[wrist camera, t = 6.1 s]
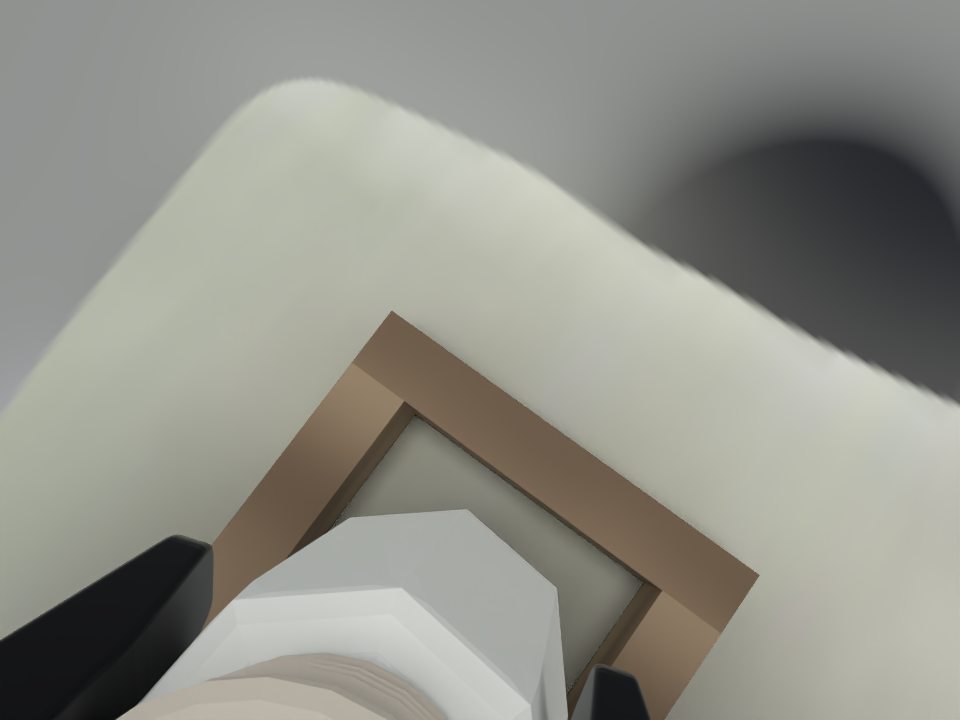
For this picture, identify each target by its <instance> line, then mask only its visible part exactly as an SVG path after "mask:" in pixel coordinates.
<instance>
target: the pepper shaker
mask: <svg viewBox="0 0 960 720" xmlns="http://www.w3.org/2000/svg"><path fill="white" fill-rule="evenodd" d="M567 719H568V711H567V699H566V687H565V675H564V664H563V652H562V640H561V629H560V617H559V605H558V593H557V588H556V587H555V586H554V585H553V584H551V583H550V582H549V581H548V580H547V579H546V578H545V577H544V576H542V575H541V574H540V573H539V572H538V571H537V570H536V569H534V568H533V567H532V566H531V565H530V564H529V563H528V562H526V561H525V560H524V559H523V558H522V557H521V556H520V555H519V554H517V553H516V552H515V551H514V550H513V549H512V548H511V547H509V546H508V545H507V544H506V543H505V542H504V541H503V540H502V539H500V538H499V537H498V536H497V535H496V534H495V533H494V532H492V531H491V530H490V529H489V528H488V527H487V526H486V525H484V524H483V523H482V522H481V521H480V520H479V519H478V518H477V517H475V516H474V515H473V514H472V513H471V512H470V511H469V510H467V509H461V510H447V511H433V512H419V513H406V514H392V515H378V516H364V517H351V518H348V519H347V520H345V521H344V522H342V523H341V524H339V525H338V526H336V527H335V528H333V529H332V530H330V531H329V532H327V533H326V534H324V535H323V536H321V537H319V538H318V539H316V540H315V541H313V542H312V543H310V544H309V545H307V546H306V547H304V548H303V549H301V550H300V551H298V552H297V553H295V554H294V555H292V556H291V557H289V558H287V559H286V560H284V561H283V562H281V563H280V564H278V565H277V566H275V567H274V568H272V569H271V570H269V571H268V572H266V573H265V574H263V575H262V576H260V577H259V578H257V579H255V580H254V581H252V582H251V583H250V584H249V585H248V586H247V587H246V588H245V589H244V590H243V591H242V592H241V593H240V594H239V595H238V596H237V597H235V598H234V599H233V600H232V601H231V602H230V603H229V604H228V605H227V606H226V607H225V608H224V609H223V610H222V611H221V612H220V613H219V614H218V615H217V616H216V617H215V618H214V619H213V620H212V621H211V622H210V623H209V625H208V626H207V627H206V628H205V629H204V630H203V631H202V632H201V634H200V635H199V636H198V637H197V638H196V639H195V640H194V642H193V643H192V644H191V645H190V646H189V647H188V648H187V649H186V651H185V652H184V653H183V654H182V655H181V656H180V657H179V658H178V660H177V661H176V662H175V663H174V664H173V665H172V666H171V667H170V669H169V670H168V671H167V672H166V673H165V674H164V675H163V676H162V678H161V679H160V680H159V681H158V682H157V683H156V684H155V685H154V687H153V688H152V689H151V690H150V691H149V692H148V693H147V694H146V696H145V697H144V698H143V699H142V700H141V701H140V702H139V703H138V705H137V706H135V707H134V708H132V709H131V710H129V711H128V712H126V713H125V714H123V715H122V716H120V717H119V718H118V719H116V720H567Z"/></svg>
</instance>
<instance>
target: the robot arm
mask: <svg viewBox="0 0 960 720" xmlns="http://www.w3.org/2000/svg"><path fill="white" fill-rule="evenodd" d="M213 578H214V553H213V549H212V547H211V546H210V545H209V544H207V543H205V542H202V541H198V540H195V539H192V538H189V537H185V536H182V535H173V536H170V537H167V538H166V539H164V540H162V541H161V542H159V543H157V544H156V545H154V546H152V547H151V548H149V549H148V550H146V551H144V552H143V553H141V554H139V555H138V556H136V557H135V558H133V559H131V560H130V561H128V562H126V563H125V564H123V565H122V566H120V567H118V568H117V569H115V570H114V571H112V572H110V573H109V574H107V575H105V576H104V577H102V578H101V579H99V580H97V581H96V582H94V583H92V584H91V585H89V586H88V587H86V588H84V589H83V590H81V591H79V592H78V593H76V594H75V595H73V596H71V597H70V598H68V599H66V600H65V601H63V602H62V603H60V604H58V605H57V606H55V607H53V608H52V609H50V610H49V611H47V612H45V613H44V614H42V615H40V616H39V617H37V618H36V619H34V620H32V621H31V622H29V623H27V624H26V625H24V626H23V627H21V628H19V629H18V630H16V631H14V632H13V633H11V634H10V635H8V636H6V637H5V638H3V639H1V640H0V720H116V719H118V718H119V717H120V716H122V715H123V714H125V713H126V712H128V711H129V710H131V709H132V708H134V707H135V706H137V705H138V703H139V702H140V701H141V700H142V699H143V698H144V697H145V696H146V694H147V693H148V692H149V691H150V690H151V689H152V688H153V687H154V685H155V684H156V683H157V682H158V681H159V680H160V679H161V678H162V676H163V675H164V674H165V673H166V672H167V671H168V670H169V669H170V667H171V666H172V665H173V664H174V663H175V662H176V661H177V660H178V658H179V657H180V656H181V655H182V654H183V653H184V652H185V651H186V649H187V648H188V647H189V646H190V645H191V644H192V643H193V642H194V640H195V639H196V638H197V637H198V636H199V635H200V633H201V631H202V629H203V626H204V624H205V622H206V620H207V618H208V615H209V612H210V609H211V606H212V601H213ZM571 720H652V719H651V716H650V713H649V711H648V708H647V705H646V702H645V699H644V696H643V693H642V690H641V687H640V685H639V682H638V680H637V678H636V677H635V676H634V675H633V674H632V673H630V672H627V671H624V670H621V669H617V668H614V667H611V666H607V665H604V664H596V665H595V666H594V667H593V668H592V670H591V672H590V674H589V676H588V679H587V681H586V683H585V686H584V688H583V691H582V693H581V695H580V698H579V700H578V702H577V705H576V707H575V710H574V712H573V715H572V719H571Z"/></svg>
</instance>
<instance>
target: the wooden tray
mask: <svg viewBox="0 0 960 720" xmlns="http://www.w3.org/2000/svg"><path fill="white" fill-rule="evenodd" d="M414 415H417V416H418V417H419V418H421V419H422V420H423V421H425V422H426V423H428V424H429V425H430V426H432V427H433V428H434V429H436V430H437V431H438V432H440V433H441V434H442V435H444V436H445V437H447V438H448V439H449V440H451V441H452V442H453V443H455V444H456V445H457V446H459V447H460V448H462V449H463V450H464V451H466V452H467V453H468V454H470V455H471V456H472V457H474V458H475V459H477V460H478V461H479V462H481V463H482V464H483V465H485V466H486V467H487V468H489V469H490V470H491V471H493V472H494V473H496V474H497V475H498V476H500V477H501V478H502V479H504V480H505V481H506V482H508V483H509V484H511V485H512V486H513V487H515V488H516V489H517V490H519V491H520V492H521V493H523V494H524V495H525V496H527V497H528V498H530V499H531V500H532V501H534V502H535V503H536V504H538V505H539V506H540V507H542V508H543V509H545V510H546V511H547V512H549V513H550V514H551V515H553V516H554V517H555V518H557V519H558V520H560V521H561V522H562V523H564V524H565V525H566V526H568V527H569V528H570V529H572V530H573V531H574V532H576V533H577V534H579V535H580V536H581V537H583V538H584V539H585V540H587V541H588V542H589V543H591V544H592V545H594V546H595V547H596V548H598V549H599V550H600V551H602V552H603V553H604V554H606V555H607V556H608V557H610V558H611V559H613V560H614V561H615V562H617V563H618V564H619V565H621V566H622V567H623V568H625V569H626V570H628V571H629V572H630V573H632V574H633V575H634V576H636V577H637V578H638V579H640V580H641V581H643V582H644V583H643V585H642V586H641V588H640V589H639V591H638V592H637V594H636V595H635V596H634V598H633V599H632V601H631V602H630V604H629V605H628V607H627V608H626V610H625V611H624V613H623V614H622V616H621V617H620V618H619V620H618V621H617V623H616V624H615V626H614V627H613V629H612V630H611V632H610V633H609V635H608V636H607V637H606V639H605V640H604V642H603V643H602V645H601V646H600V648H599V649H598V651H597V652H596V654H595V655H594V657H593V658H592V659H591V661H590V662H589V664H588V665H587V667H586V668H585V670H584V671H583V673H582V674H581V676H580V677H579V678H578V680H577V681H576V683H575V684H574V686H573V687H572V689H571V690H570V692H569V693H568V695H567V696H566V699H567V711H568V719H567V720H571V719H572V715H573V712H574V710H575V707H576V705H577V702H578V700H579V698H580V695H581V693H582V691H583V688H584V686H585V683H586V681H587V679H588V676H589V674H590V672H591V670H592V668H593V667H594V666H595V665H596V664H604V665H607V666H611V667H614V668H617V669H621V670H624V671H627V672H630V673H632V674H633V675H634V676H635V677H636V678H637V680H638V682H639V685H640V687H641V690H642V693H643V696H644V699H645V702H646V705H647V708H648V711H649V713H650V716H651V719H652V720H664V719H665V717H666V716H667V714H668V713H669V711H670V710H671V708H672V707H673V705H674V704H675V702H676V701H677V699H678V698H679V696H680V695H681V693H682V692H683V690H684V689H685V687H686V686H687V684H688V683H689V681H690V680H691V678H692V676H693V675H694V673H695V672H696V670H697V669H698V667H699V666H700V664H701V663H702V661H703V660H704V658H705V657H706V655H707V654H708V652H709V651H710V649H711V648H712V646H713V645H714V643H715V642H716V640H717V639H718V637H719V636H720V634H721V633H722V631H723V630H724V628H725V627H726V625H727V624H728V622H729V621H730V619H731V618H732V616H733V615H734V613H735V612H736V610H737V609H738V607H739V606H740V604H741V603H742V601H743V600H744V598H745V597H746V595H747V593H748V592H749V590H750V589H751V587H752V586H753V584H754V583H755V581H756V580H757V578H758V577H759V574H757V573H756V572H754V571H753V570H752V569H750V568H749V567H747V566H746V565H745V564H743V563H742V562H740V561H739V560H738V559H736V558H735V557H734V556H732V555H731V554H729V553H728V552H727V551H725V550H724V549H722V548H721V547H720V546H718V545H717V544H715V543H714V542H713V541H711V540H710V539H708V538H707V537H706V536H704V535H703V534H702V533H700V532H699V531H697V530H696V529H695V528H693V527H692V526H690V525H689V524H688V523H686V522H685V521H683V520H682V519H681V518H679V517H678V516H677V515H675V514H674V513H672V512H671V511H670V510H668V509H667V508H665V507H664V506H663V505H661V504H660V503H658V502H657V501H656V500H654V499H653V498H651V497H650V496H649V495H647V494H646V493H645V492H643V491H642V490H640V489H639V488H638V487H636V486H635V485H633V484H632V483H631V482H629V481H628V480H626V479H625V478H624V477H622V476H621V475H619V474H618V473H617V472H615V471H614V470H613V469H611V468H610V467H608V466H607V465H606V464H604V463H603V462H601V461H600V460H599V459H597V458H596V457H594V456H593V455H592V454H590V453H589V452H588V451H586V450H585V449H583V448H582V447H581V446H579V445H578V444H576V443H575V442H574V441H572V440H571V439H569V438H568V437H567V436H565V435H564V434H562V433H561V432H560V431H558V430H557V429H556V428H554V427H553V426H551V425H550V424H549V423H547V422H546V421H544V420H543V419H542V418H540V417H539V416H537V415H536V414H535V413H533V412H532V411H531V410H529V409H528V408H526V407H525V406H524V405H522V404H521V403H519V402H518V401H517V400H515V399H514V398H512V397H511V396H510V395H508V394H507V393H505V392H504V391H503V390H501V389H500V388H499V387H497V386H496V385H494V384H493V383H492V382H490V381H489V380H487V379H486V378H485V377H483V376H482V375H480V374H479V373H478V372H476V371H475V370H473V369H472V368H471V367H469V366H468V365H467V364H465V363H464V362H462V361H461V360H460V359H458V358H457V357H455V356H454V355H453V354H451V353H450V352H448V351H447V350H446V349H444V348H443V347H442V346H440V345H439V344H437V343H436V342H435V341H433V340H432V339H430V338H429V337H428V336H426V335H425V334H423V333H422V332H421V331H419V330H418V329H416V328H415V327H414V326H412V325H411V324H410V323H408V322H407V321H405V320H404V319H403V318H401V317H400V316H398V315H397V314H396V313H394V312H393V311H391V312H390V314H389V315H388V316H387V318H386V319H385V320H384V321H383V323H382V324H381V325H380V327H379V328H378V329H377V331H376V332H375V333H374V335H373V336H372V337H371V338H370V340H369V341H368V342H367V344H366V345H365V346H364V348H363V349H362V350H361V351H360V353H359V354H358V355H357V357H356V358H355V359H354V361H353V362H352V363H351V365H350V366H349V367H348V368H347V370H346V371H345V372H344V374H343V375H342V376H341V378H340V379H339V380H338V381H337V383H336V384H335V385H334V387H333V388H332V389H331V391H330V392H329V393H328V395H327V396H326V397H325V398H324V400H323V401H322V402H321V404H320V405H319V406H318V408H317V409H316V410H315V411H314V413H313V414H312V415H311V417H310V418H309V419H308V421H307V422H306V423H305V425H304V426H303V427H302V428H301V430H300V431H299V432H298V434H297V435H296V436H295V438H294V439H293V440H292V441H291V443H290V444H289V445H288V447H287V448H286V449H285V451H284V452H283V453H282V455H281V456H280V457H279V458H278V460H277V461H276V462H275V464H274V465H273V466H272V468H271V469H270V470H269V472H268V473H267V474H266V475H265V477H264V478H263V479H262V481H261V482H260V483H259V485H258V486H257V487H256V488H255V490H254V491H253V492H252V494H251V495H250V496H249V498H248V499H247V500H246V502H245V503H244V504H243V505H242V507H241V508H240V509H239V511H238V512H237V513H236V515H235V516H234V517H233V518H232V520H231V521H230V522H229V524H228V525H227V526H226V528H225V529H224V530H223V532H222V533H221V534H220V535H219V537H218V538H217V539H216V541H215V542H214V543H213V545H212V546H211V547H212V549H213V553H214V578H213V601H212V606H211V609H210V612H209V615H208V618H207V620H206V622H205V624H204V626H203V629H202V631H203V630H204V629H205V628H206V627H207V626H208V625H209V623H210V622H211V621H212V620H213V619H214V618H215V617H216V616H217V615H218V614H219V613H220V612H221V611H222V610H223V609H224V608H225V607H226V606H227V605H228V604H229V603H230V602H231V601H232V600H233V599H234V598H235V597H237V596H238V595H239V594H240V593H241V592H242V591H243V590H244V589H245V588H246V587H247V586H248V585H249V584H250V583H251V582H252V581H254V580H255V579H257V578H259V577H260V576H262V575H263V574H265V573H266V572H268V571H269V570H271V569H272V568H274V567H275V566H277V565H278V564H280V563H281V562H283V561H284V560H286V559H287V558H289V557H291V556H292V555H294V554H295V553H297V552H298V551H300V550H301V549H303V548H304V547H306V546H307V545H309V544H310V543H312V542H313V541H315V540H316V539H318V538H319V537H321V536H323V535H324V534H326V533H327V532H328V530H329V529H330V528H331V526H332V525H333V523H334V522H335V521H336V519H337V518H338V517H339V515H340V514H341V513H342V511H343V510H344V509H345V507H346V506H347V505H348V503H349V502H350V501H351V499H352V498H353V497H354V495H355V494H356V493H357V491H358V490H359V489H360V487H361V486H362V485H363V483H364V482H365V481H366V479H367V478H368V477H369V475H370V474H371V473H372V471H373V470H374V469H375V467H376V466H377V465H378V463H379V462H380V461H381V459H382V458H383V457H384V455H385V454H386V453H387V451H388V450H389V449H390V447H391V446H392V445H393V443H394V442H395V441H396V439H397V438H398V437H399V435H400V434H401V432H402V431H403V430H404V428H405V427H406V426H407V424H408V423H409V422H410V420H411V419H412V418H413V416H414ZM202 631H201V632H202ZM200 634H201V633H200Z"/></svg>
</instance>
